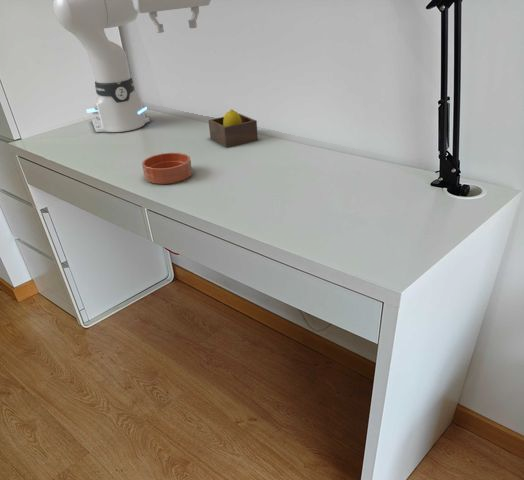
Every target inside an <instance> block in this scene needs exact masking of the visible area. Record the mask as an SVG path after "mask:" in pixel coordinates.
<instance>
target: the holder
mask: <svg viewBox="0 0 524 480" xmlns="http://www.w3.org/2000/svg"><path fill="white" fill-rule="evenodd" d="M238 114H239V115H240V117H241V121H242V123H240V124H236V125H231V126H227V127H225V126H223V120H224V116H221V117H216V118H211V119H208V129H209V138H210V140H212V141H213V142H215V143H217V144H219V145H221V146H223V147H225V148H230V147H235V146H239V145H244V144H247V143H252V142H257V141H258V137H259V136H258V121H257V120H256V119H253V118H251V117H249V116H246V115H244V114H242V113H238Z"/></svg>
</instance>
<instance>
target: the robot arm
mask: <svg viewBox="0 0 524 480" xmlns="http://www.w3.org/2000/svg"><path fill="white" fill-rule="evenodd" d="M211 1H212V0H53V2H52V3H53V4H52V5H53V12H54V15H55V18H56V20H57V21H58V23H59V24H60V26H61V27H63V29H65V30H66V31H68V33H71V34H72V35H73V36H74V37H75V38H76V39H77V40H78V41H79V42H80V43H81V45H82V46H83V48H84V50H85V51H86V54H87V55H88V56H87V57H88V59H89V62H90V64H91V65H90V66H91V69H92V73H93V75H94V76H93V77H94V80H95V81H94V89H95V94H96V99H95V102H94V106H91V107H90V108H88V109H86V113H92V115H96V116H95V117H93V118H92V119H91V121H92V125H93V128H94V131H95V132H96V133H106V132H107V133H122V132H128V131H134V130H137V129H140V128H142V127H144V126H145V124H148V123H150V120H151V119H150V117H147V116H146V115H145V111H146V110H148V107H147V106H145V107H143V103H142V99H141V96H140V95H139V94H138V93H136V92H135V84H134V80H133V78H132V77H131V73H130V68H129V61H128V58H127V53H126V51H125V50H124V48H122V46H121V45H119V44H118V43H116V42H114V41H111V40H109V39H108V37H107V34H106V32H105V29H109V28H110V29H111V28H116V27H123V26H125V25H127V24H130V23H132V22H134V21H135V20H136V19H137V18H138V14H147V13H148V16H149V18H150V20H151V21H152V23H153V24H154V27H155V32H156V33H157V34H162V33H164V32H165V29H164V24H163V23H159V20H158V19H157V17H158V12H163V11H171V10H172V11H173V10H180V9H190V12H192V15H191V18H190V19H188V21H187V22H188V28H189V29H197V27H198V25H197V20H198V17H199V14H200V7H205V6H209V5H210V3H211Z"/></svg>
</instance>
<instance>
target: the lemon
mask: <svg viewBox="0 0 524 480" xmlns="http://www.w3.org/2000/svg"><path fill="white" fill-rule="evenodd" d="M239 114H240V113H238V111H235V110H234V109H229V110H228V111H227V112H226V113H225V114H224V116H223V117H224V120H223V126H225V127H227V126H231V125H236V124H240V123H242V121H241V117H240V115H239Z"/></svg>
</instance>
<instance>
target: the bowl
mask: <svg viewBox="0 0 524 480" xmlns="http://www.w3.org/2000/svg"><path fill="white" fill-rule="evenodd" d="M141 162H142V163H141V165H142V171H143V176H144V180H146V181H147V182H148V183H151V184H152V183H153V184H159V185H168V184H169V185H170V184H176V183H179V182H181V181H184V180H186V179H188V178H190V177H191V176H192V175H193V169H192V161H191V156H189V155H188V154H186V153H181V152H165V153H159V154H154V155H151V156H149V157H146V158H145V159H144V160H143V161H141Z"/></svg>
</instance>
